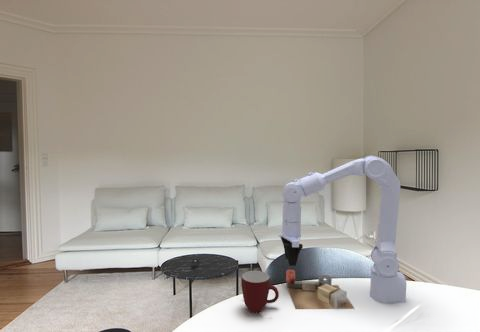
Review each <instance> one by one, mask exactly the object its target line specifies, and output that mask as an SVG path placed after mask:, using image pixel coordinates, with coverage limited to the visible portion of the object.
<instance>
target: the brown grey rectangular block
mask: <svg viewBox="0 0 480 332" xmlns="http://www.w3.org/2000/svg"><path fill="white" fill-rule="evenodd" d="M347 295H348V292H347V291H346V290H344V289H341V288H340V290H338V291H337V292H335V293H333V294H331V304H330V306H331V307H333V308H335V309H334V310H338V309H337V308H339V307H341V306H343V305H344V304H346V299H347V298H348V296H347Z"/></svg>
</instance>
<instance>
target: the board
mask: <svg viewBox="0 0 480 332" xmlns="http://www.w3.org/2000/svg"><path fill="white" fill-rule="evenodd" d="M331 286H332V287H335V288H337V291H338V290H340V289H341V287H340V286H339V285H337V284H331ZM287 290H288V294H289V296H290V298H291V301H292V303H293V306H294V309H295V310H348V309H349V310H350V309H351V310H353V309H354V310H355V309H356V308H355V306H354V305H353V303H352V302H351V301H350V300H349V298H348V297H347V299H346V304H344V305H343V306H341V307H339V308H337V309H335V308H333V307H331V306H330V304H331V303H330V304H328V303H325V302H323V301H321V300H319V299H318V289H315V291H305V290H302V288H287Z"/></svg>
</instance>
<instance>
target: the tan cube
mask: <svg viewBox="0 0 480 332" xmlns="http://www.w3.org/2000/svg"><path fill="white" fill-rule="evenodd" d="M335 292H337V288H335V287H332V286H330V285H328V284H325V285H322V286H320V287H318V299H319V300H321V301H323V302H325V303H328V304H330V303H331V294H333V293H335Z"/></svg>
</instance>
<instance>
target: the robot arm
mask: <svg viewBox="0 0 480 332" xmlns="http://www.w3.org/2000/svg"><path fill="white" fill-rule="evenodd" d="M364 175H365V176H367V177H368V178H369V179H371V180H373V181H374V182H375V183H376V184H378V186H379V187H380V189H381V192H380V193H381V195H380V204H379V214H378V215H379V216H378V226H377V228H378V229H377V238H376V240H375V242H374V247H373V248H372V249H371V252H370V258H371V260H372V262H373V264H372V267H371V268H370V286H369V287H370V288H369V297H370V298H371V299H372V300H374V301H375V302H379V303H381V304H395V303H406V301H407V300H406V298H407V280H406V276H405V274H404V273H403V272H402V271H399V270H400V264H399V263H400V262H399V261H398V258H397V255H398V252H397V247H396V237H397V227H398V217H399V206H400V194H401V181H400V180H399V179H398V177H397V175H396V174H395V170H393V168H392V166H391V164H389V163H388V162H387V161H386V160H385V159H383V158H381V157H378V156H375V155H367V156H365V157H361V158H358V159H354V160H351V161H348V162H346V163H344V164H342V165H341V166H337V167H335V168H333V169H331V170H329V171H327V172H325V173H320V172H316V171H315V172H314V173H313V171H312V172H308V175H306V176H304V177H301V178H299V179H298V178H295V179H294V180H293V181H294V182H293V181H291V182H288V183H286V185H284V187H283V189H282V197H283V199H282V200H283V204H282V225H281V226H282V232H279V233H278V237H280V240H281V241H282V245H283V249H284V255H285V260H287V262H288V265H289V267H290V266H296V265H297V262H298V258H299V256H300V252H301V250H302V249H303V248H304V245H303V244H302V243H300V239H301V237H302V233H301V224H302V206H301V198H302V197H304V198H306V197H308V196H311V195H313V194H316V193H319V192H321V191H324V189H325V188H326V185H327V184H330V183H332V182H335V181H339V180H341V179H343V178H346V177H349V176H359V177H364Z"/></svg>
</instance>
